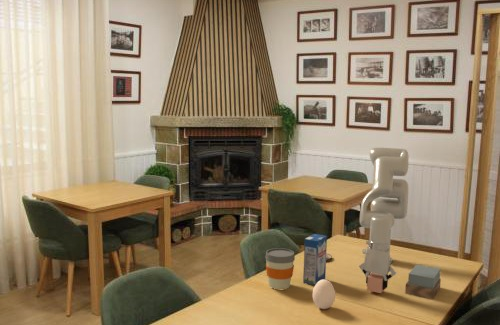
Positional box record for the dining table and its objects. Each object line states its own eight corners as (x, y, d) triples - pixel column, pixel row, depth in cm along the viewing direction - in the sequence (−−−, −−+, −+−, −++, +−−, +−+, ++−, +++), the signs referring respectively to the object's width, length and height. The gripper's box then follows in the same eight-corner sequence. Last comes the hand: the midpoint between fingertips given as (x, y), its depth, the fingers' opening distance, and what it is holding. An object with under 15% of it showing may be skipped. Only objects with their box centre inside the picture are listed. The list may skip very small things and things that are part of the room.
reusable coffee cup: (298, 283, 213) (298, 250, 211) (287, 293, 202) (288, 258, 200) (271, 278, 219) (272, 246, 217) (260, 288, 207) (260, 254, 205)
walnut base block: (405, 294, 205) (405, 284, 204) (414, 283, 217) (414, 273, 217) (432, 300, 199) (433, 289, 198) (440, 288, 212) (440, 278, 211)
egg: (319, 314, 183) (320, 285, 182) (307, 305, 191) (308, 277, 189) (339, 311, 186) (340, 282, 185) (326, 302, 194) (327, 274, 193)
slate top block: (408, 283, 204) (408, 273, 204) (416, 274, 216) (416, 264, 216) (433, 289, 199) (433, 278, 199) (439, 278, 211) (440, 268, 210)
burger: (333, 263, 242) (333, 248, 241) (309, 262, 242) (309, 248, 241) (329, 255, 254) (330, 241, 253) (306, 255, 254) (307, 241, 253)
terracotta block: (367, 290, 204) (367, 276, 203) (371, 285, 209) (372, 272, 208) (381, 293, 201) (381, 279, 200) (385, 288, 206) (386, 275, 205)
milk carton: (316, 286, 211) (317, 241, 208) (303, 283, 214) (304, 238, 212) (325, 279, 219) (327, 235, 217) (312, 276, 223) (314, 233, 220)
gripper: (355, 244, 204) (353, 285, 206) (396, 251, 195) (394, 294, 197) (361, 239, 210) (359, 279, 213) (402, 247, 201) (399, 288, 204)
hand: (376, 286), depth 205 cm, fingers closed on terracotta block, 6 cm apart
